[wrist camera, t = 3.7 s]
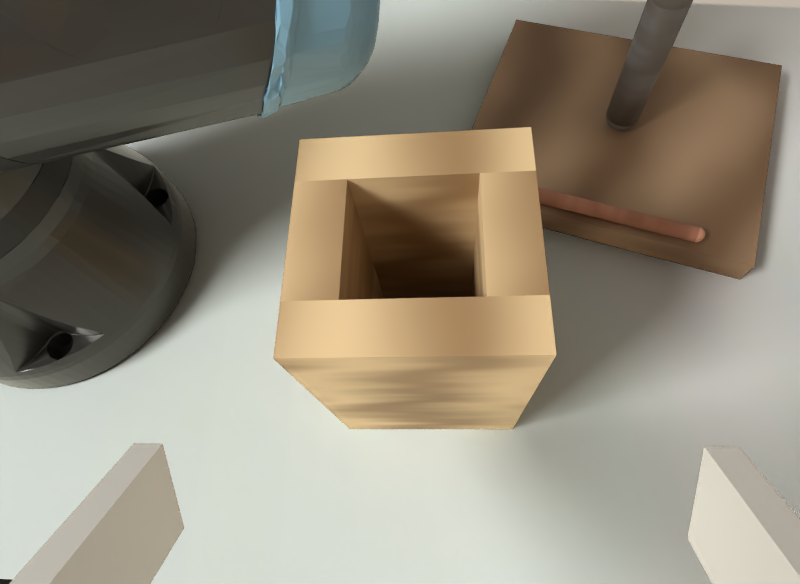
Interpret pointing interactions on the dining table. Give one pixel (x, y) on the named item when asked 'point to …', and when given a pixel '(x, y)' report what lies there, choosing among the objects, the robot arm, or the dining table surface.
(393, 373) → the light wooden hollow box
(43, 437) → the dining table surface
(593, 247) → the dining table surface
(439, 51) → the dining table surface
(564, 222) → the brown base with post
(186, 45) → the robot arm
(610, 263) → the dining table surface
